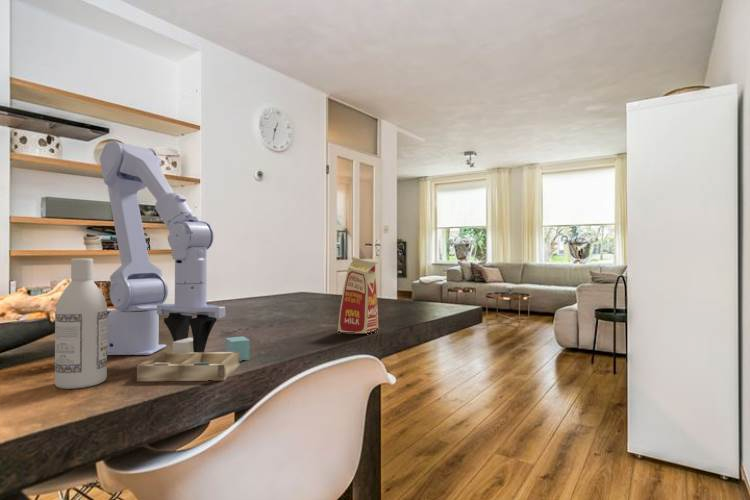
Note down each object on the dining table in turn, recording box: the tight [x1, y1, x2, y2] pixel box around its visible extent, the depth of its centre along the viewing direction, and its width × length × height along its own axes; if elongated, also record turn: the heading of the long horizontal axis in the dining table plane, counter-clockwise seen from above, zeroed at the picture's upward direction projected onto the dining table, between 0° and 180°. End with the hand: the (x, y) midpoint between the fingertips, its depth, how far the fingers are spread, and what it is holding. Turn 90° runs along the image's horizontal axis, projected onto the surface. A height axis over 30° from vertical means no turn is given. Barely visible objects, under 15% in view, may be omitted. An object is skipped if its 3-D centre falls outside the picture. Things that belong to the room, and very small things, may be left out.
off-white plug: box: [172, 337, 194, 352], centre depth 86 cm, size 6×4×4 cm, turn 163°
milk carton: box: [337, 256, 379, 333], centre depth 117 cm, size 9×9×20 cm
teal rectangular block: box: [225, 336, 251, 362], centre depth 87 cm, size 6×4×4 cm, turn 33°
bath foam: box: [54, 257, 108, 390], centre depth 71 cm, size 7×7×20 cm
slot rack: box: [136, 351, 240, 382], centre depth 77 cm, size 14×10×3 cm
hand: (190, 353), depth 85 cm, fingers closed on off-white plug, 3 cm apart
